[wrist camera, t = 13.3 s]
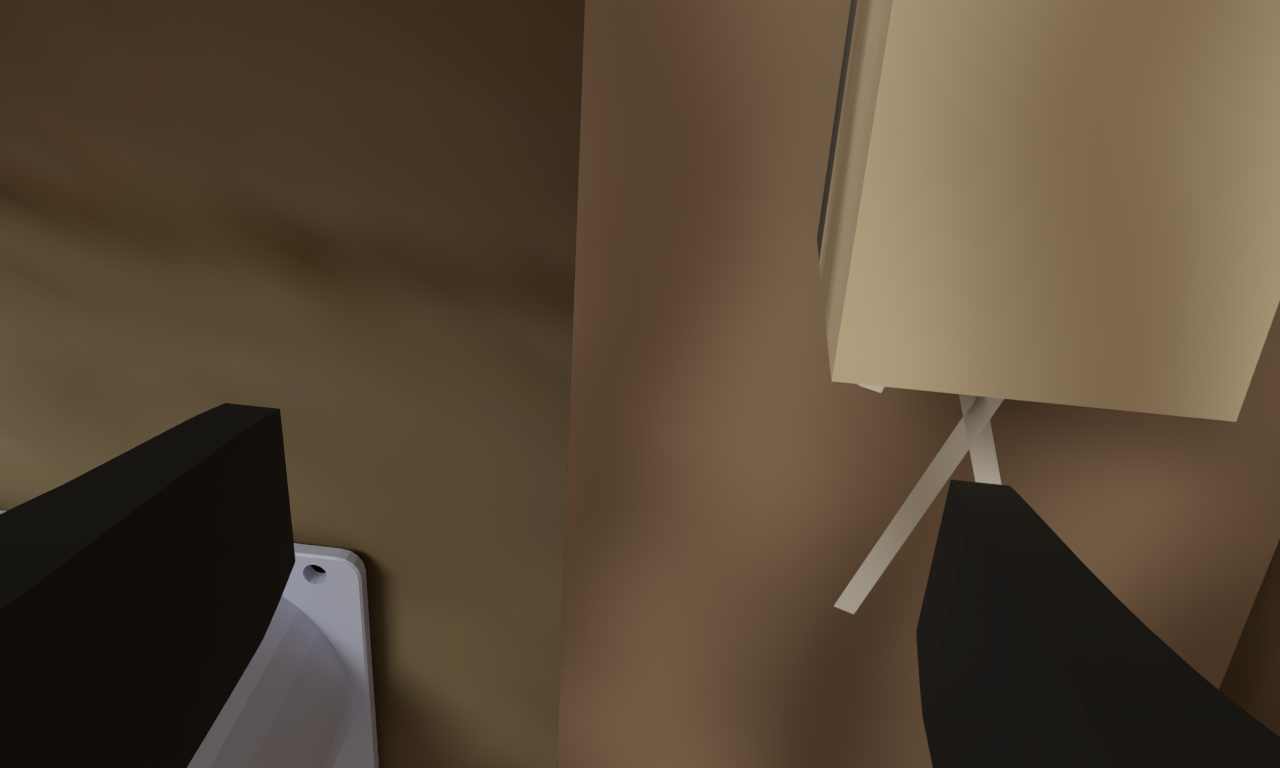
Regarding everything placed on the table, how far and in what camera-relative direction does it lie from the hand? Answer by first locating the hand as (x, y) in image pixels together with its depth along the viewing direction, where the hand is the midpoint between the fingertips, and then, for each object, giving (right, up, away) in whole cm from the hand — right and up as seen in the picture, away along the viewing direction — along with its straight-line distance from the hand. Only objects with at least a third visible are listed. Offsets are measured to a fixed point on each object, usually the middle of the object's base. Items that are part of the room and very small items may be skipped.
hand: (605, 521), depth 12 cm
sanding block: (+6, +8, +4) cm, 11 cm away
